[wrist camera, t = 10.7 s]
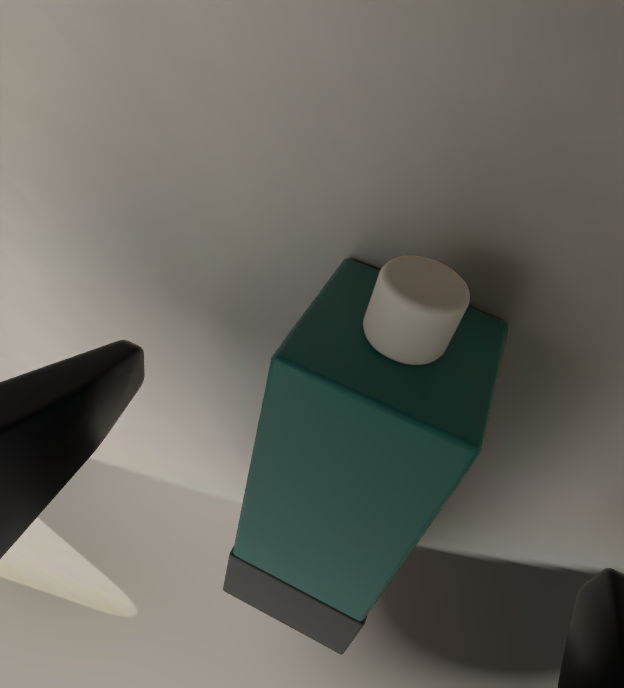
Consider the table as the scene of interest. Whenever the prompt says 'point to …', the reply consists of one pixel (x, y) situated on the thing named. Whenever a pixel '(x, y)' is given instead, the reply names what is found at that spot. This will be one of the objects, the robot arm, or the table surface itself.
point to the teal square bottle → (361, 441)
